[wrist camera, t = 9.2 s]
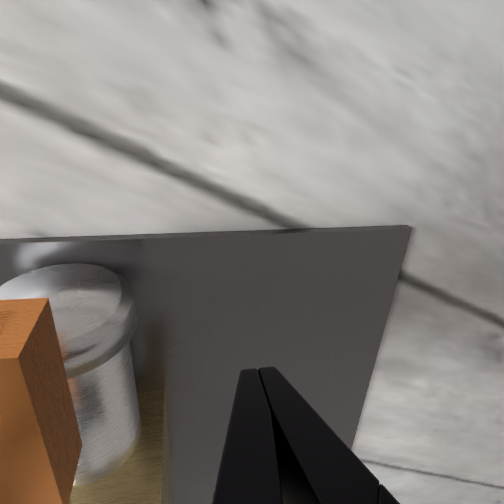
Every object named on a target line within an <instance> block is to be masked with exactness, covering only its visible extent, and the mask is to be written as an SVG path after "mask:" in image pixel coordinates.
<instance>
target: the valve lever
mask: <svg viewBox="0 0 504 504" xmlns="http://www.w3.org/2000/svg"><path fill="white" fill-rule="evenodd" d="M81 449H82V441H81V436H80V432H79V428H78V423H77V419H76V415H75V410H74V406H73V402H72V397H71V393H70V389H69V384H68V380H67V376H66V371H65V367H64V363H63V358H62V354H61V350H60V345H59V341H58V337H57V332H56V328H55V324H54V319H53V315H52V311H51V306H50V302H49V298H32V299H9V300H0V504H71V500H70V495H71V491H72V487H73V483H74V479H75V474H76V470H77V466H78V462H79V457H80V453H81Z"/></svg>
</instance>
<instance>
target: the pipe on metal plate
mask: <svg viewBox="0 0 504 504" xmlns="http://www.w3.org/2000/svg"><path fill="white" fill-rule="evenodd" d="M410 232H411V228H410V227H408V226H407V225H400V226H372V227H343V228H314V229H286V230H257V231H228V232H199V233H171V234H142V235H113V236H85V237H56V238H27V239H0V300H9V299H32V298H49V302H50V306H51V311H52V315H53V319H54V324H55V328H56V332H57V337H58V341H59V345H60V350H61V354H62V358H63V363H64V367H65V371H66V376H67V380H68V384H69V389H70V393H71V397H72V402H73V406H74V410H75V415H76V419H77V423H78V428H79V432H80V436H81V441H82V449H81V453H80V457H79V462H78V466H77V470H76V474H75V479H74V483H73V487H72V491H71V495H70V500H71V504H211V503H212V498H213V494H214V489H215V485H216V480H217V475H218V471H219V466H220V462H221V457H222V453H223V448H224V443H225V439H226V434H227V430H228V425H229V421H230V416H231V411H232V407H233V402H234V398H235V393H236V388H237V384H238V379H239V375H240V371H241V370H243V369H253V368H256V369H257V370H258V369H259V368H262V367H275V368H277V369H278V371H279V372H280V373H281V374H282V375H283V376H284V377H285V378H286V379H287V380H288V381H289V383H290V384H291V385H292V386H293V387H294V388H295V389H296V390H297V391H298V392H299V394H300V395H301V396H302V397H303V398H304V399H305V400H306V401H307V402H308V403H309V405H310V406H311V407H312V408H313V409H314V410H315V411H316V412H317V413H318V414H319V416H320V417H321V418H322V419H323V420H324V421H325V422H326V423H327V424H328V425H329V427H330V428H331V429H332V430H333V431H334V432H335V433H336V434H337V435H338V436H339V438H340V439H341V440H342V441H343V442H344V443H345V444H346V445H347V446H348V447H349V449H350V450H351V447H352V443H353V439H354V436H355V432H356V429H357V425H358V421H359V418H360V414H361V410H362V407H363V403H364V400H365V396H366V392H367V389H368V385H369V381H370V378H371V374H372V370H373V367H374V363H375V360H376V356H377V352H378V349H379V345H380V341H381V338H382V334H383V330H384V327H385V323H386V320H387V316H388V312H389V309H390V305H391V301H392V298H393V294H394V290H395V287H396V283H397V280H398V276H399V272H400V269H401V265H402V261H403V258H404V254H405V251H406V247H407V243H408V240H409V236H410Z"/></svg>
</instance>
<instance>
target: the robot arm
mask: <svg viewBox="0 0 504 504" xmlns="http://www.w3.org/2000/svg"><path fill="white" fill-rule="evenodd" d="M211 504H400V503H399V502H398V501H397V500H396V499H395V498H394V497H393V496H392V495H391V493H390V492H389V491H388V490H387V489H386V488H385V487H384V486H383V485H382V484H380V485H379V480H378V479H377V478H376V477H375V476H374V475H373V474H372V473H371V472H370V471H369V469H368V468H367V467H366V466H365V465H364V464H363V463H362V462H361V461H360V460H359V458H358V457H357V456H356V455H355V454H354V453H353V452H352V451H351V450H350V449H349V447H348V446H347V445H346V444H345V443H344V442H343V441H342V440H341V439H340V438H339V436H338V435H337V434H336V433H335V432H334V431H333V430H332V429H331V428H330V427H329V425H328V424H327V423H326V422H325V421H324V420H323V419H322V418H321V417H320V416H319V414H318V413H317V412H316V411H315V410H314V409H313V408H312V407H311V406H310V405H309V403H308V402H307V401H306V400H305V399H304V398H303V397H302V396H301V395H300V394H299V392H298V391H297V390H296V389H295V388H294V387H293V386H292V385H291V384H290V383H289V381H288V380H287V379H286V378H285V377H284V376H283V375H282V374H281V373H280V372H279V371H278V369H277V368H275V367H262V368H259V369H258V370H257V369H256V368H253V369H243V370H241V371H240V375H239V379H238V384H237V388H236V393H235V398H234V402H233V407H232V411H231V416H230V421H229V425H228V430H227V434H226V439H225V443H224V448H223V453H222V457H221V462H220V466H219V471H218V475H217V480H216V485H215V489H214V494H213V498H212V503H211Z"/></svg>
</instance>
